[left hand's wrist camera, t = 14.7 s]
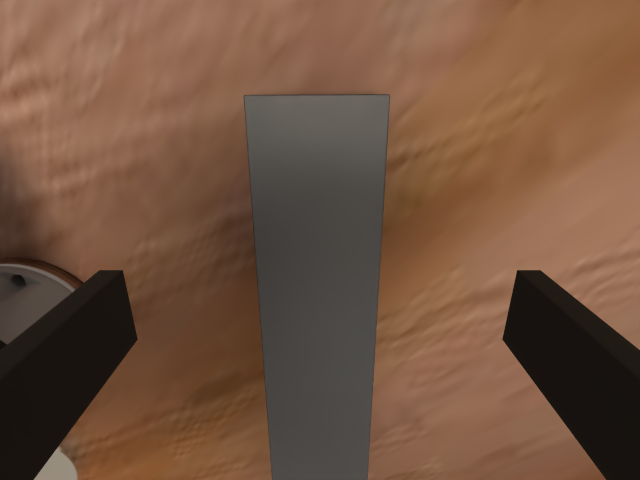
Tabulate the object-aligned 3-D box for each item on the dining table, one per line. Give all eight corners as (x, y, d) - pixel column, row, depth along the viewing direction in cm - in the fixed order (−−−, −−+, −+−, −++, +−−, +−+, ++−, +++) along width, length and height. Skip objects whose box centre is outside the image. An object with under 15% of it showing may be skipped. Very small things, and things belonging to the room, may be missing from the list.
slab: (257, 94, 32) (243, 95, 26) (377, 94, 32) (390, 94, 26) (289, 617, 61) (286, 674, 55) (352, 617, 61) (356, 674, 55)
